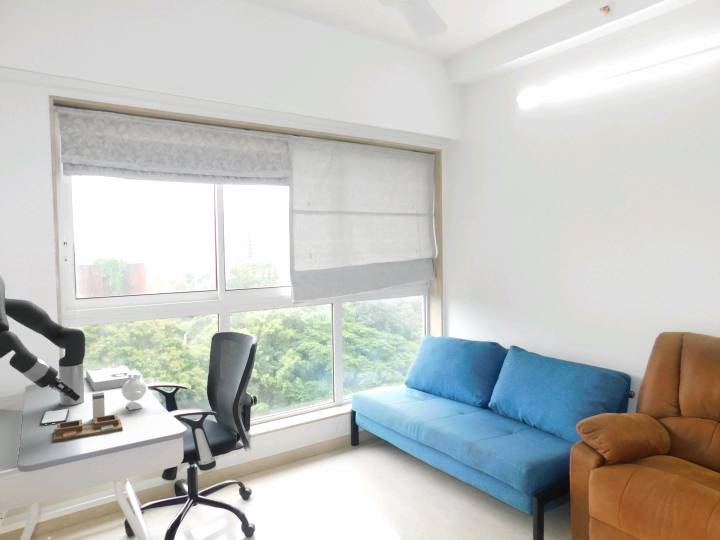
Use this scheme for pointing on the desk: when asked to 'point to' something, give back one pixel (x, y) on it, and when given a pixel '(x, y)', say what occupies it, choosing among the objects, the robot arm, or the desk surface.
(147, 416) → the desk surface
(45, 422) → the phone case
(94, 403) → the grey-capped white pillar
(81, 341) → the robot arm
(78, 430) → the panel
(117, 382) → the power supply unit
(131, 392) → the toy robot
